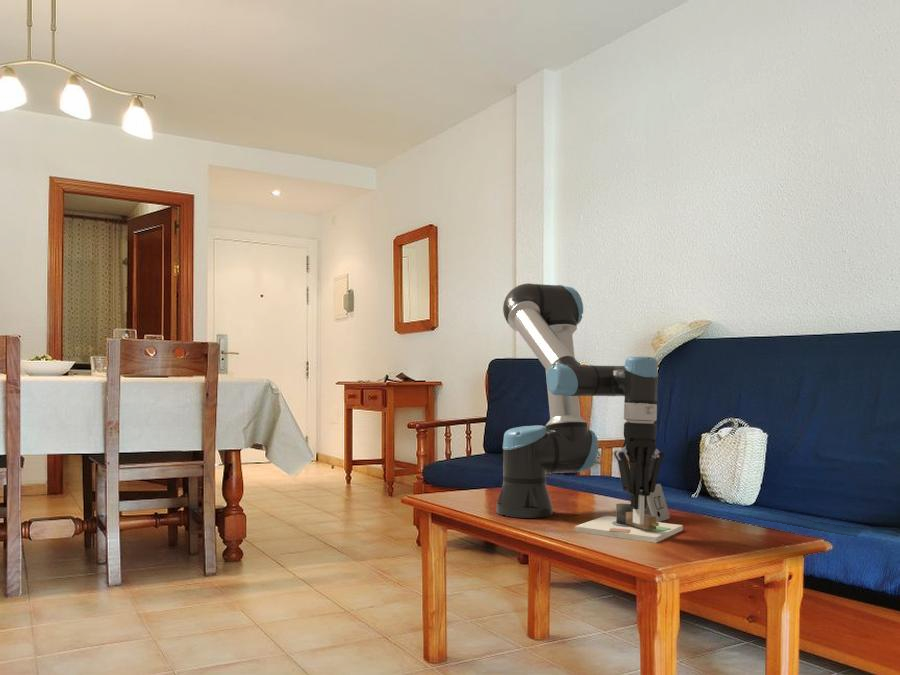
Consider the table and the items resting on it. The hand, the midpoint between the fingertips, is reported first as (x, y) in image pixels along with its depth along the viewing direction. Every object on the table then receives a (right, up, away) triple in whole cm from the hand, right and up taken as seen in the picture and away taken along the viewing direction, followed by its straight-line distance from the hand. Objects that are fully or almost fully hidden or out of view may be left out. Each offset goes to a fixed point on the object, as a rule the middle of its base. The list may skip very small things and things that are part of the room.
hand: (638, 523), depth 173 cm
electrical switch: (+9, -4, +19) cm, 22 cm away
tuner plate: (-1, -3, +5) cm, 6 cm away
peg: (+1, -1, +3) cm, 3 cm away
